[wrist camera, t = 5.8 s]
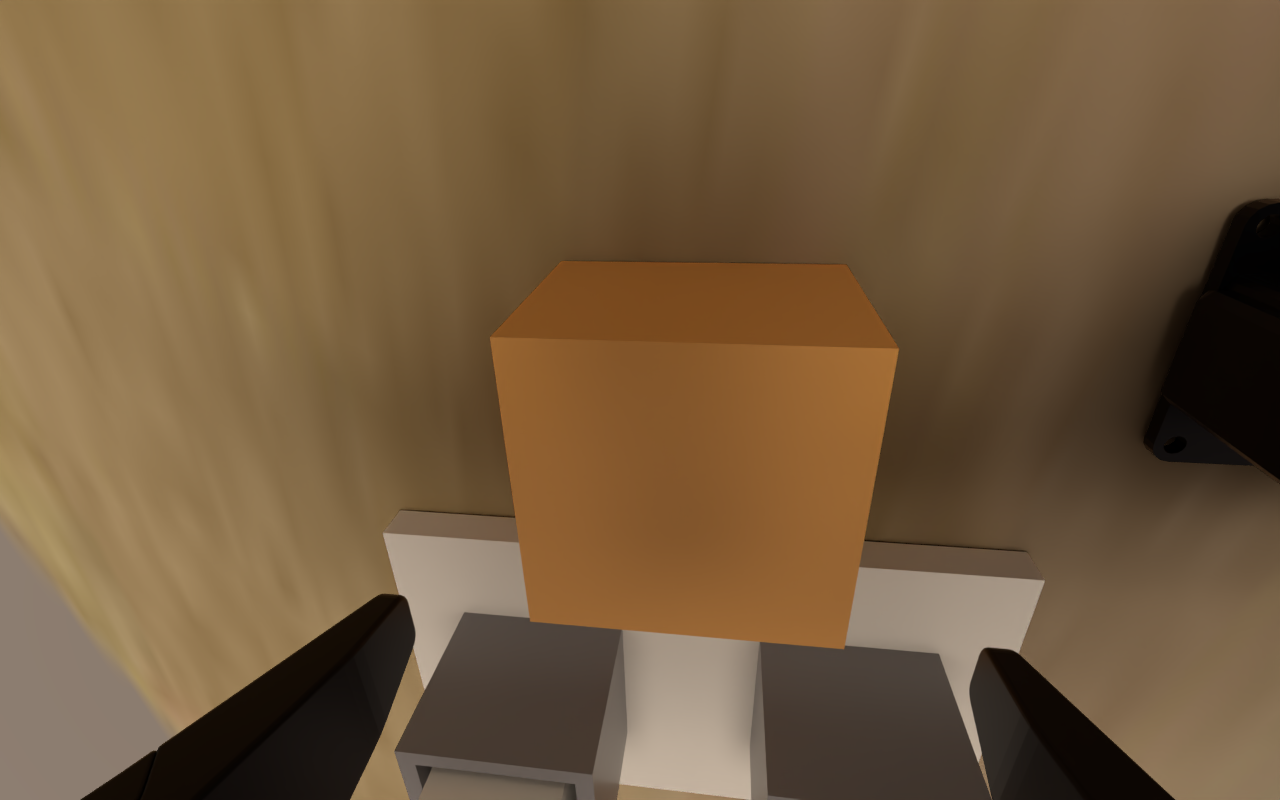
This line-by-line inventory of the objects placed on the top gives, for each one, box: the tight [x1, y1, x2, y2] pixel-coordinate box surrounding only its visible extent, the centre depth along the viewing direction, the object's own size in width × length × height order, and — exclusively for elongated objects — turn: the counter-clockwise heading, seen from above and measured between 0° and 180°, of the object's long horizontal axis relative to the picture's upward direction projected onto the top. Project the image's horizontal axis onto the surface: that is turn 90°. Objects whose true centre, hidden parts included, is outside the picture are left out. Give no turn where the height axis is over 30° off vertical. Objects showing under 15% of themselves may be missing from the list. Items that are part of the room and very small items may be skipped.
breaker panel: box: [383, 510, 1045, 800], centre depth 20 cm, size 20×12×6 cm, turn 91°
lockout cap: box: [490, 261, 899, 649], centre depth 15 cm, size 7×7×6 cm
